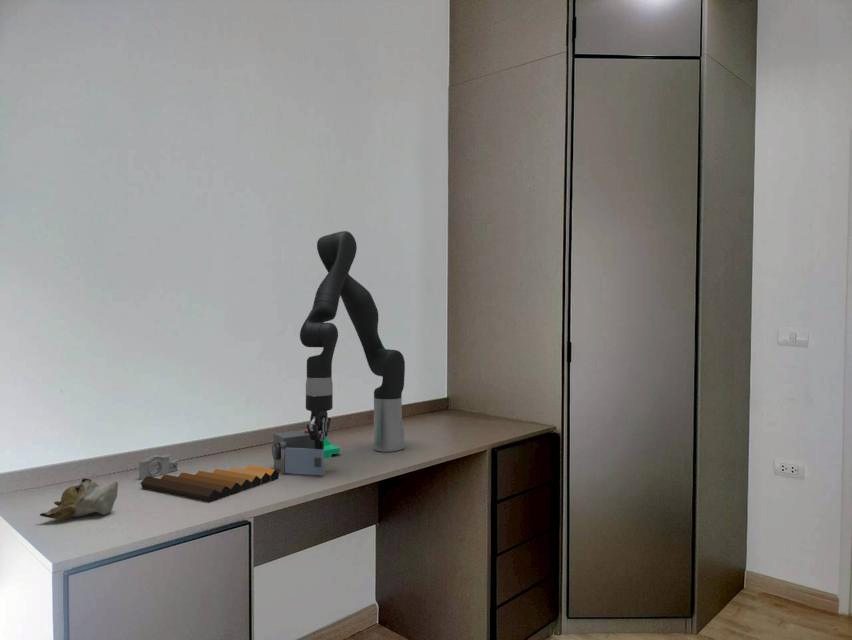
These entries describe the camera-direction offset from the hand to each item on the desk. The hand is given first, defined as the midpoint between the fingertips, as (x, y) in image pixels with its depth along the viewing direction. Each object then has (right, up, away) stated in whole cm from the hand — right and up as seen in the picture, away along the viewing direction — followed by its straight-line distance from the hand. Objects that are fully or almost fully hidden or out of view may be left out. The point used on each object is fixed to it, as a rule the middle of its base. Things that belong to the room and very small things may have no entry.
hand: (319, 453), depth 180 cm
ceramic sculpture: (-48, -7, -36) cm, 60 cm away
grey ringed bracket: (-45, -6, -1) cm, 46 cm away
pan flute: (-27, -7, -10) cm, 30 cm away
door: (-5, -5, -1) cm, 7 cm away
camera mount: (-4, -6, +22) cm, 23 cm away
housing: (-7, -6, +6) cm, 11 cm away
